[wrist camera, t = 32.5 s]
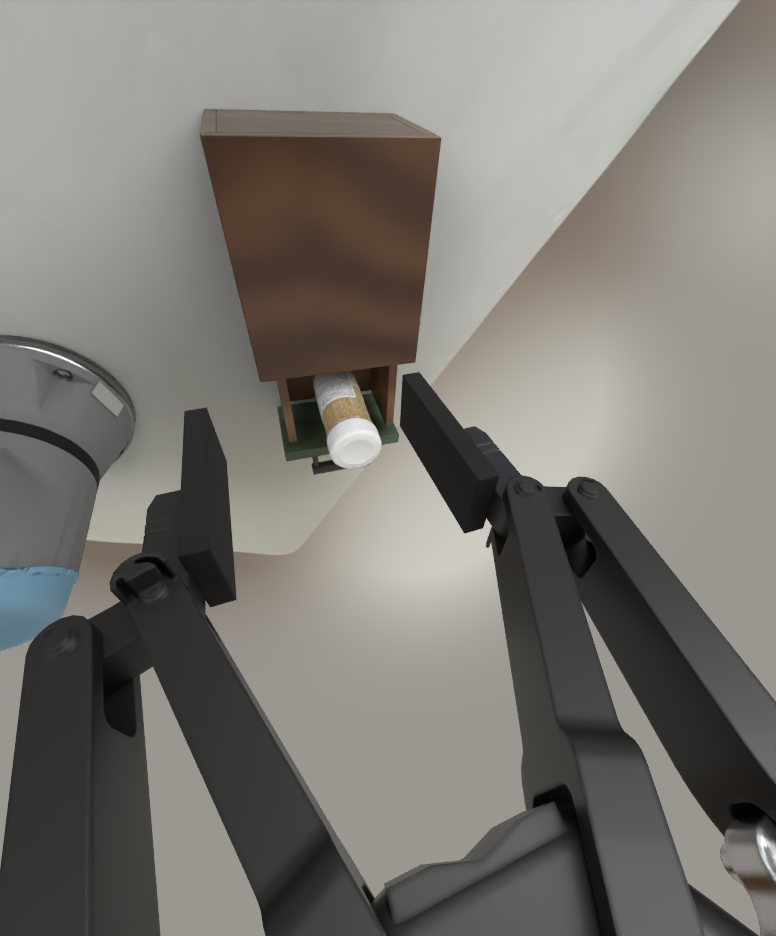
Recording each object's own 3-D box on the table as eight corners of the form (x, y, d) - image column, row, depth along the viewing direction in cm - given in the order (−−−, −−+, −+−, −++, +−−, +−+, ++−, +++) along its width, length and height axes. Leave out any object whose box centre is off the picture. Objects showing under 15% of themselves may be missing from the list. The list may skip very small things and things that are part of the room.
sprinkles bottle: (349, 379, 43) (381, 465, 35) (309, 384, 42) (332, 475, 34) (348, 342, 40) (383, 428, 31) (304, 347, 39) (328, 437, 30)
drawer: (378, 433, 52) (394, 475, 48) (286, 449, 50) (294, 495, 45) (384, 281, 37) (409, 320, 32) (251, 291, 34) (258, 335, 30)
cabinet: (385, 312, 41) (415, 362, 35) (253, 325, 38) (260, 382, 32) (394, 113, 29) (441, 137, 23) (203, 108, 26) (199, 134, 20)
